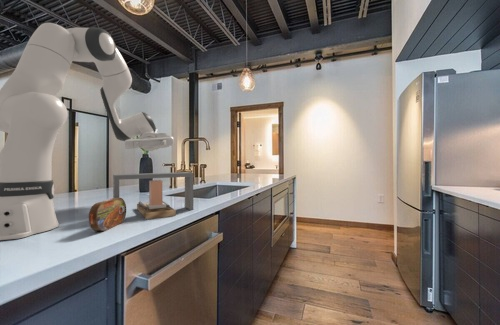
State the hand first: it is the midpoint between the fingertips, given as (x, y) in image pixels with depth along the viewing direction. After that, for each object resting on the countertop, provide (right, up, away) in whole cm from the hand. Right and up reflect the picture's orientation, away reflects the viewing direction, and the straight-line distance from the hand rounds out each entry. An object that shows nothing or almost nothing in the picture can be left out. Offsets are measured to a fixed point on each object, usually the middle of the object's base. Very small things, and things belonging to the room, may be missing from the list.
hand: (151, 144), depth 100 cm
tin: (-1, -28, -28) cm, 39 cm away
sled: (+5, -25, -8) cm, 27 cm away
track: (+4, -27, -7) cm, 28 cm away
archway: (+5, -27, -8) cm, 29 cm away
